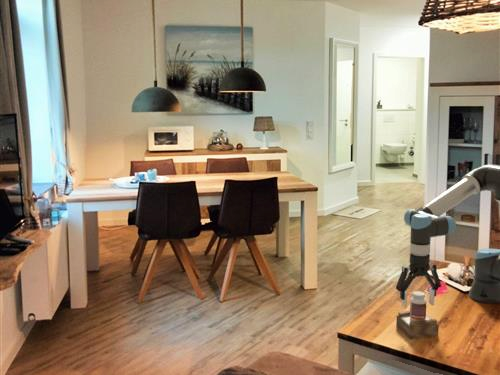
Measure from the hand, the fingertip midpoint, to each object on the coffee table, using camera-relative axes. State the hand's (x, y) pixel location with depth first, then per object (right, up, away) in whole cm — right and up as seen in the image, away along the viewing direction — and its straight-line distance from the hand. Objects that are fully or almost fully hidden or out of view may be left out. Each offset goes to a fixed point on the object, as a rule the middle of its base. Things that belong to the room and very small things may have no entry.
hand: (417, 305), depth 217 cm
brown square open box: (0, -11, +2) cm, 11 cm away
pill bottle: (0, -6, +1) cm, 6 cm away
